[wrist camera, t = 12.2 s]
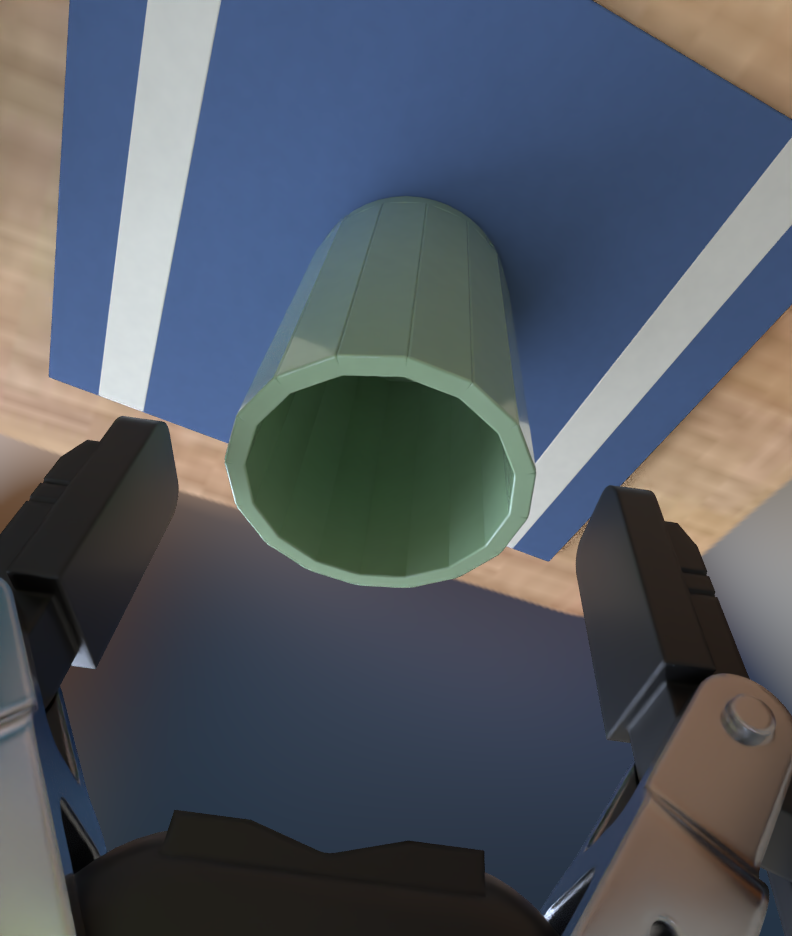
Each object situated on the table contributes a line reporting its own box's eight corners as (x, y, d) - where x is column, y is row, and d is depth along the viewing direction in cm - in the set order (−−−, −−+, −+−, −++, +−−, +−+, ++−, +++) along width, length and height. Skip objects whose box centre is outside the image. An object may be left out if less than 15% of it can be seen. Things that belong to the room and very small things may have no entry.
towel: (53, 371, 21) (47, 377, 21) (95, -296, 11) (85, -304, 11) (547, 554, 25) (548, 562, 25) (895, 182, 15) (904, 186, 15)
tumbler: (273, 243, 17) (163, 416, 11) (467, 158, 15) (474, 304, 9) (361, 403, 21) (317, 608, 14) (529, 348, 19) (567, 555, 12)
